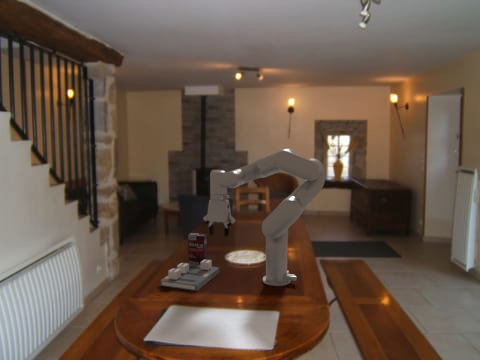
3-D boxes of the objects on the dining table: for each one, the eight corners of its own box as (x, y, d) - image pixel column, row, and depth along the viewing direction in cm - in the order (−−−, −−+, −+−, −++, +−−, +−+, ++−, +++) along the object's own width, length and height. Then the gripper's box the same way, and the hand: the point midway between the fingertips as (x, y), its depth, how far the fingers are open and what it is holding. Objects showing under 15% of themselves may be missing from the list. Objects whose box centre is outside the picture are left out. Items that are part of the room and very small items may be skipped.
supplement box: (188, 265, 209) (187, 235, 207) (191, 262, 213) (190, 232, 211) (204, 266, 207) (203, 235, 205) (207, 263, 212) (206, 233, 210)
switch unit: (219, 272, 198) (219, 267, 198) (196, 291, 176) (196, 285, 176) (186, 268, 205) (185, 263, 204) (160, 285, 182) (160, 280, 182)
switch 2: (189, 270, 193) (188, 263, 192) (185, 273, 189) (184, 265, 188) (181, 269, 194) (181, 262, 193) (177, 272, 190) (177, 264, 190)
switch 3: (211, 267, 197) (211, 259, 197) (208, 270, 193) (208, 262, 193) (204, 266, 199) (204, 258, 198) (200, 269, 195) (200, 261, 194)
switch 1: (180, 276, 185) (180, 268, 185) (176, 279, 181) (176, 271, 181) (173, 275, 186) (172, 267, 186) (168, 278, 183) (168, 270, 182)
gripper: (239, 197, 190) (239, 234, 192) (205, 195, 196) (205, 231, 198) (233, 199, 183) (233, 239, 185) (198, 197, 189) (198, 235, 191)
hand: (219, 235), depth 191 cm, fingers open, 6 cm apart
